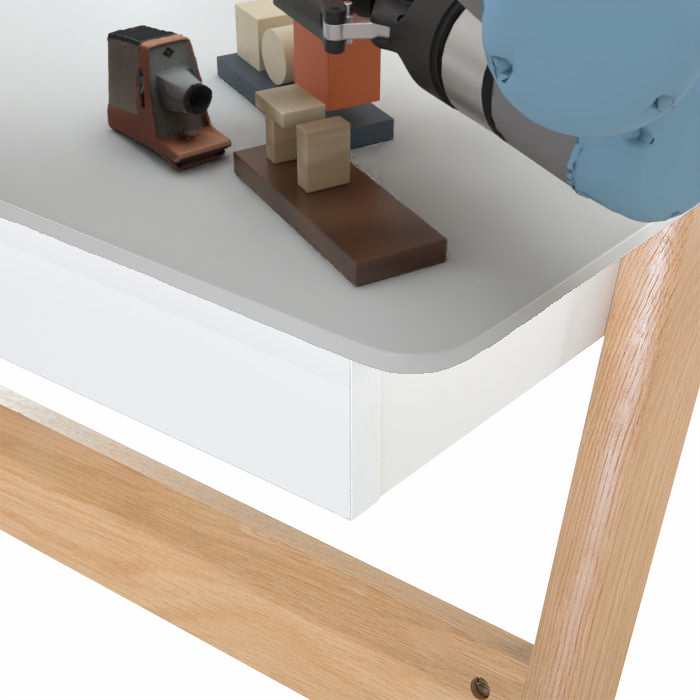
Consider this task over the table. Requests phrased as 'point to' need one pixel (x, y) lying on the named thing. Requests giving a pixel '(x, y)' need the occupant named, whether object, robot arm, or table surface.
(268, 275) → the table surface
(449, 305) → the table surface
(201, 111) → the electronic device
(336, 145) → the blocks on brown board
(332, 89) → the terracotta cuboid
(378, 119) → the wooden block set
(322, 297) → the table surface
